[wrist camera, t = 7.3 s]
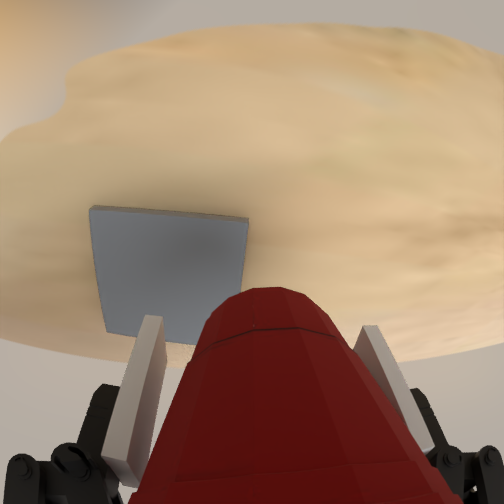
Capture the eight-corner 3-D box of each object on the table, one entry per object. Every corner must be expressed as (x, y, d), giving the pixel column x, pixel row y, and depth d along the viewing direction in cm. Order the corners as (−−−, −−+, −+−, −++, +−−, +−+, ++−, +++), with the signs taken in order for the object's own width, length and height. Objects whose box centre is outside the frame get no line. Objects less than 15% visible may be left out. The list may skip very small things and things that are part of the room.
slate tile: (109, 325, 33) (106, 332, 32) (94, 205, 27) (88, 209, 26) (233, 341, 34) (233, 348, 33) (248, 218, 28) (248, 223, 27)
